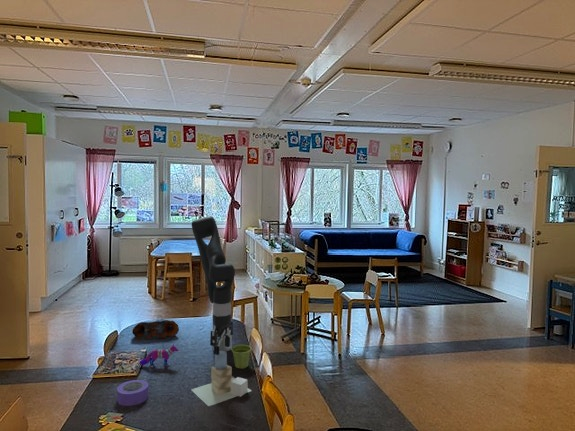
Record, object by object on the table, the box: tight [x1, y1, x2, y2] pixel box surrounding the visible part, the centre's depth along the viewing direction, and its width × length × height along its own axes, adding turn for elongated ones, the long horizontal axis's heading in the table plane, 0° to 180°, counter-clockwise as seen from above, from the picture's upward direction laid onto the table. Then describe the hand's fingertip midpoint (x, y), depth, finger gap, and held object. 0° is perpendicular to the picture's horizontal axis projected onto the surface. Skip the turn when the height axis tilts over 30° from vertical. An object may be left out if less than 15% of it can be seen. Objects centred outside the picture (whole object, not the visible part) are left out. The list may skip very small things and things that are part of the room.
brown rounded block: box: [131, 319, 180, 341], centre depth 235 cm, size 25×13×17 cm
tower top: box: [210, 364, 233, 384], centre depth 170 cm, size 6×6×5 cm
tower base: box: [211, 379, 231, 395], centre depth 171 cm, size 6×6×5 cm
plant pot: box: [230, 344, 252, 369], centre depth 194 cm, size 9×9×9 cm
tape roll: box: [116, 379, 149, 407], centre depth 164 cm, size 12×12×5 cm
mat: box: [190, 375, 252, 407], centre depth 171 cm, size 20×16×1 cm
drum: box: [214, 351, 228, 370], centre depth 170 cm, size 5×5×6 cm
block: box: [231, 376, 249, 398], centre depth 169 cm, size 5×5×5 cm
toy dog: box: [139, 342, 179, 368], centre depth 193 cm, size 4×18×10 cm, turn 97°
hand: (222, 350), depth 170 cm, fingers open, 8 cm apart
